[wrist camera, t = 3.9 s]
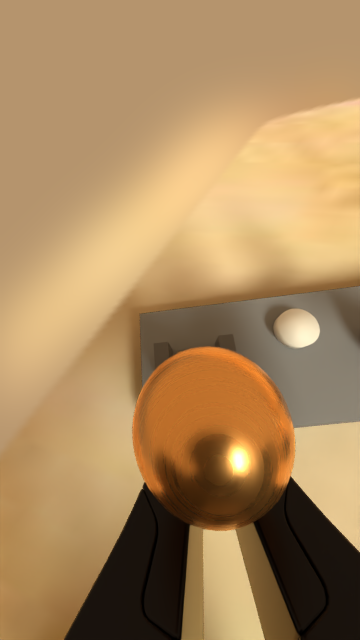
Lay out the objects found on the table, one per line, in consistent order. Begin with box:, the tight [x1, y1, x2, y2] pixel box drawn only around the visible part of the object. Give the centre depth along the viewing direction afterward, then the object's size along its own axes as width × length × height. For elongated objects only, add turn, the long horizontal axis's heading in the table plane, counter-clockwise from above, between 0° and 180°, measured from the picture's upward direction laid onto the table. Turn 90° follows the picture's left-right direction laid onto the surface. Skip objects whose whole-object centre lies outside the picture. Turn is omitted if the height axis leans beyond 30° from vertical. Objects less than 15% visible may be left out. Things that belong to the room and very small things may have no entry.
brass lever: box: [132, 346, 295, 531], centre depth 7 cm, size 3×3×10 cm
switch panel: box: [140, 286, 360, 428], centre depth 12 cm, size 20×8×5 cm, turn 96°
